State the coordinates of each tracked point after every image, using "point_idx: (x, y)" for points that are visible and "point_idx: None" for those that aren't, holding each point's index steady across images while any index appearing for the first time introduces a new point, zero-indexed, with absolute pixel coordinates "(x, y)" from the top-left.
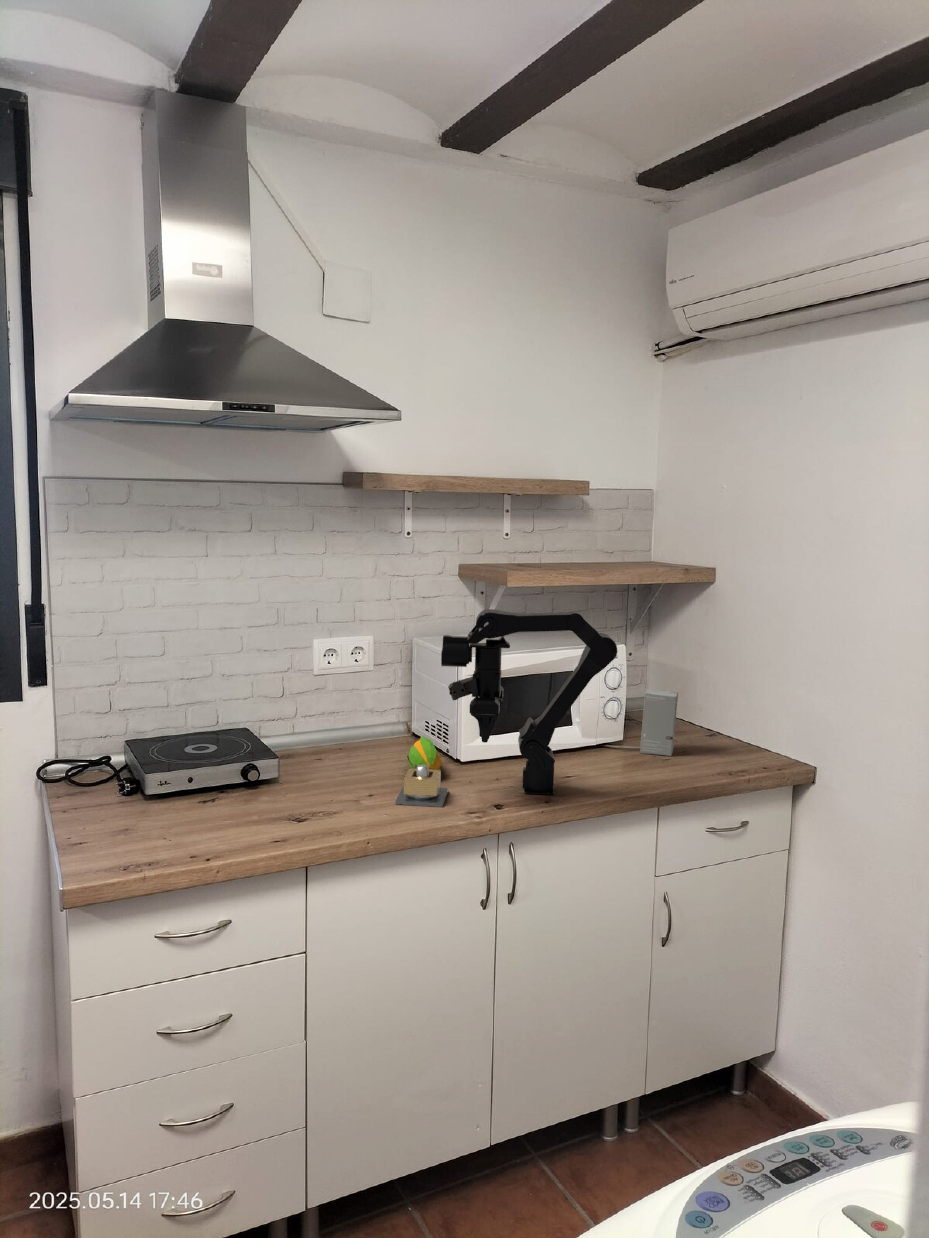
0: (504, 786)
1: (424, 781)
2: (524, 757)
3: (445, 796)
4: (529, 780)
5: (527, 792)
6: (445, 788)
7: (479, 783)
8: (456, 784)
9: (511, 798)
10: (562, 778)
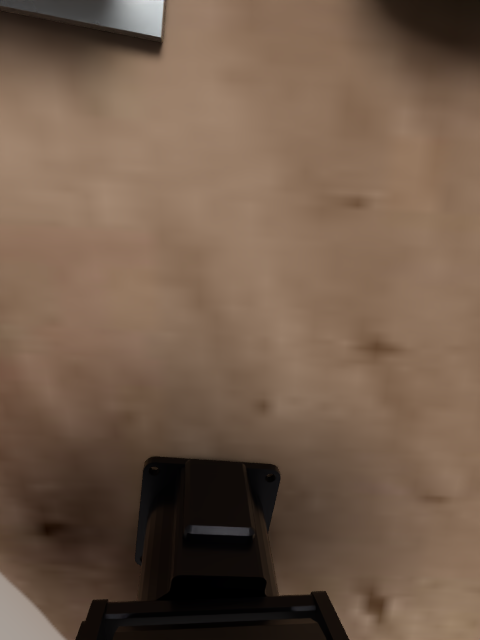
0: (262, 375)
1: None
2: (118, 628)
3: (5, 8)
4: (170, 516)
5: (144, 471)
6: (150, 15)
7: (316, 254)
8: (306, 112)
9: (78, 398)
10: (358, 588)
